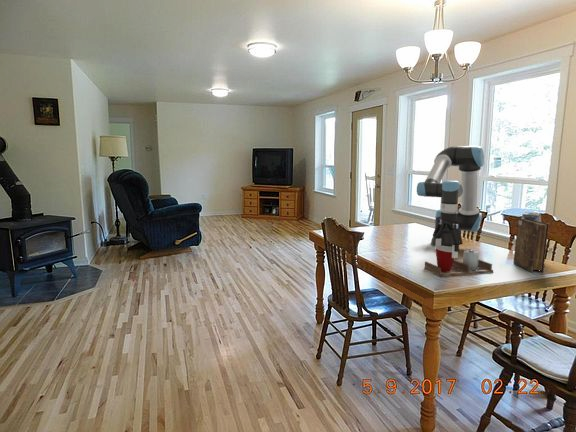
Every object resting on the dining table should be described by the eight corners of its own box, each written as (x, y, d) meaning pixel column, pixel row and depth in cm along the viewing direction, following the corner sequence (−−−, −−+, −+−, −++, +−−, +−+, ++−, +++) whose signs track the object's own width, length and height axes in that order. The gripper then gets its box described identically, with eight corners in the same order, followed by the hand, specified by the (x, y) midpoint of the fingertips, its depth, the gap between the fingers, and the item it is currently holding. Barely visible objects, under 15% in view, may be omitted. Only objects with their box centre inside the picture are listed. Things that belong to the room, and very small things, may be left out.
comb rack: (474, 264, 199) (475, 257, 198) (493, 272, 186) (493, 264, 185) (424, 269, 192) (424, 261, 191) (440, 277, 179) (440, 269, 179)
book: (511, 263, 202) (516, 217, 198) (525, 263, 202) (530, 217, 197) (530, 272, 185) (535, 223, 181) (544, 272, 185) (550, 223, 181)
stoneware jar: (471, 266, 196) (472, 247, 194) (480, 270, 189) (482, 251, 188) (459, 267, 195) (460, 248, 193) (468, 271, 188) (470, 252, 186)
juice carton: (516, 259, 209) (521, 211, 205) (519, 255, 217) (524, 209, 212) (535, 262, 203) (540, 213, 199) (537, 258, 211) (542, 210, 207)
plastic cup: (459, 274, 183) (461, 250, 181) (436, 273, 185) (437, 250, 182) (452, 267, 194) (454, 245, 192) (430, 266, 195) (432, 244, 193)
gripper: (427, 208, 195) (425, 248, 199) (458, 216, 171) (455, 261, 175) (439, 208, 197) (437, 247, 200) (473, 215, 173) (469, 260, 177)
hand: (445, 254), depth 188 cm, fingers open, 12 cm apart
